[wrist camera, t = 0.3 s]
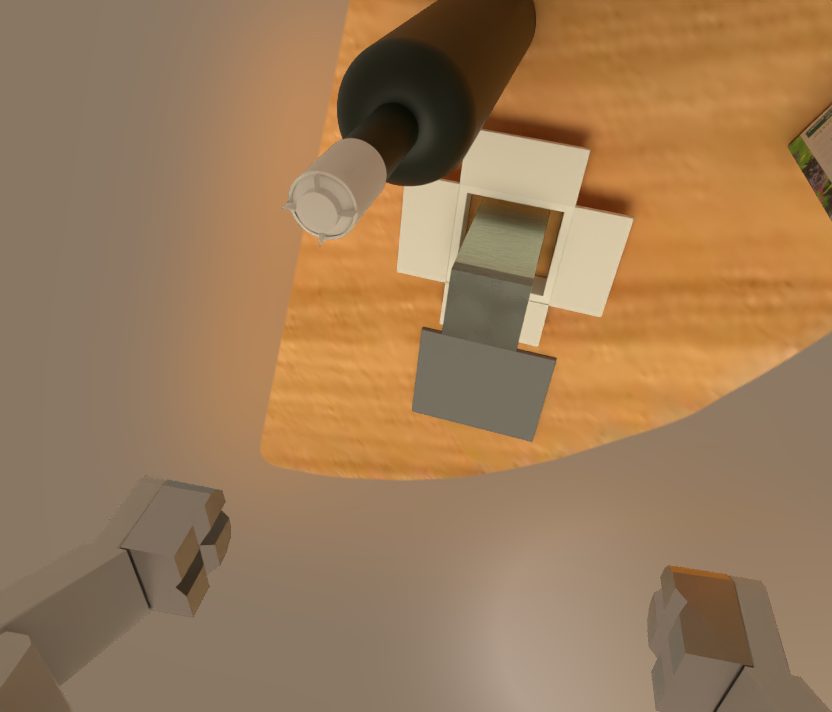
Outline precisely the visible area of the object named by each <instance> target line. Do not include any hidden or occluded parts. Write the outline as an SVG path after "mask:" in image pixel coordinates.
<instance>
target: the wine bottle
mask: <svg viewBox="0 0 832 712" xmlns="http://www.w3.org/2000/svg"><path fill="white" fill-rule="evenodd" d="M535 26H536V14H535V8H534V4H533V1H532V0H438V1H436V2H435V3H433V4H432V5H430V6H429V7H427V8H426V9H424V10H423V11H421V12H420V13H418V14H417V15H415V16H414V17H412V18H411V19H409V20H408V21H406V22H405V23H403V24H402V25H400V26H399V27H398V28H396V29H395V30H393V31H392V32H390V33H389V34H387V35H386V36H384V37H383V38H381V39H380V40H378V41H377V42H375V43H374V44H372V45H371V46H369V47H368V48H366V49H365V50H364V51H363V52H361V53H360V54H359V55H358V56H357V57H356V58H355V60H354V61H353V62H352V63H351V65H350V66H349V68H348V69H347V71H346V73H345V75H344V77H343V80H342V82H341V85H340V89H339V93H338V100H337V117H338V124H339V129H340V132H341V135H342V138H343V139H342V140H340V141H338V142H336V143H335V144H333V145H332V146H331V147H330V148H329V149H328V150H327V151H326V152H325V153H324V154H323V155H321V156H320V157H319V158H318V159H317V160H316V161H315V162H314V163H313V164H312V165H311V166H310V167H308V168H307V169H306V170H305V171H304V172H303V173H302V174H301V175H300V176H299V177H298V178H297V179H296V180H295V181H294V182H293V184H292V186H291V188H290V191H289V201H288V202H287V204H286V205H285V206H284V207H283V208H282V209H288V210H291V212H292V214H293V216H294V218H295V220H296V221H297V222H298V224H299V225H300V226H301V227H302V228H303V229H304V230H306V231H307V232H308V233H310V234H311V235H313V236H316V237H318V238H319V246H321V244H322V243H323V242H324V241H325V240H333V239H338V238H341V237H343V236H345V235H347V234H348V233H349V232H350V231H351V230H352V229H353V227H354V226H355V225H356V224H357V222H358V221H359V220H360V218H361V217H362V216H363V215H364V213H365V212H366V211H367V209H368V208H369V207H370V206H371V204H372V203H373V202H374V200H375V199H376V198H377V197H378V195H379V194H380V193H381V191H382V190H383V188H384V186H385V183H386V182H387V183H390V184H394V185H399V186H421V185H426V184H429V183H432V182H435V181H437V180H439V179H441V178H443V177H444V176H446V175H448V174H449V173H450V172H451V171H453V170H454V169H455V168H456V167H457V166H458V165H459V164H460V163H461V161H462V160H463V159H464V157H465V156H466V154H467V153H468V151H469V149H470V148H471V146H472V144H473V142H474V141H475V139H476V137H477V135H478V134H479V132H480V130H481V129H482V127H483V125H484V123H485V122H486V120H487V118H488V116H489V115H490V113H491V111H492V110H493V108H494V106H495V104H496V103H497V101H498V99H499V98H500V96H501V94H502V92H503V91H504V89H505V87H506V85H507V84H508V82H509V80H510V79H511V77H512V75H513V73H514V72H515V70H516V68H517V66H518V65H519V63H520V61H521V60H522V58H523V56H524V54H525V53H526V51H527V49H528V48H529V46H530V44H531V41H532V39H533V36H534V32H535Z"/></svg>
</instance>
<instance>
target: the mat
mask: <svg viewBox="0 0 832 712" xmlns="http://www.w3.org/2000/svg"><path fill="white" fill-rule="evenodd" d="M555 363H556V358H553V357H548V356H544V355H540V354H536V353H531V352H527V351H523V350H519V349H517V351H516V352H514V351H510V350H506V349H502V348H497V347H493V346H489V345H485V344H480V343H476V342H472V341H468V340H463V339H459V338H455V337H450V336H446V335H442V331H437V330H433V329H429V328H425V327H423V328H422V333H421V341H420V349H419V357H418V365H417V373H416V382H415V390H414V398H413V406H412V411H413V412H417V413H421V414H425V415H428V416H432V417H436V418H440V419H444V420H448V421H452V422H456V423H460V424H464V425H468V426H472V427H476V428H480V429H483V430H487V431H491V432H495V433H499V434H503V435H507V436H511V437H515V438H519V439H523V440H527V441H531V442H532V441H533V438H534V434H535V431H536V427H537V424H538V421H539V417H540V414H541V410H542V407H543V404H544V400H545V397H546V393H547V390H548V387H549V383H550V380H551V376H552V373H553V370H554V366H555Z"/></svg>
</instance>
